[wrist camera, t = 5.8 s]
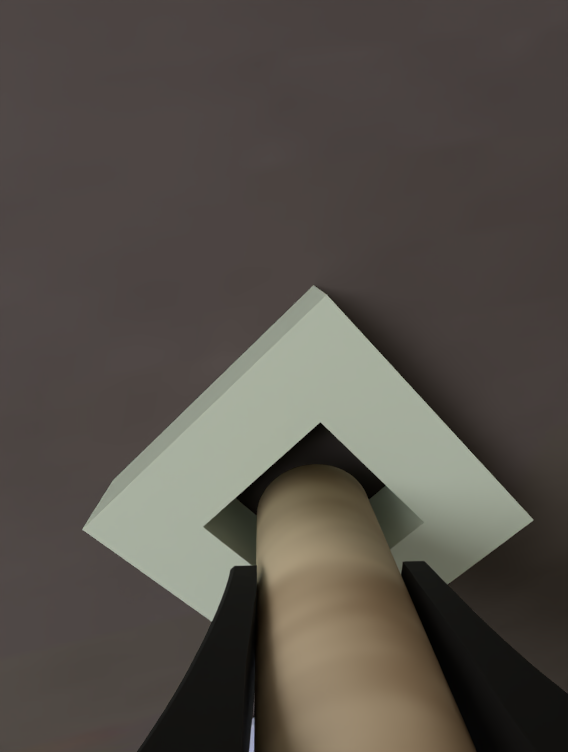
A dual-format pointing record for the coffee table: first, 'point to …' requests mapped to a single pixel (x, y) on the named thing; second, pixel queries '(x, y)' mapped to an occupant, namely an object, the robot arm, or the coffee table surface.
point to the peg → (340, 630)
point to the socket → (277, 436)
